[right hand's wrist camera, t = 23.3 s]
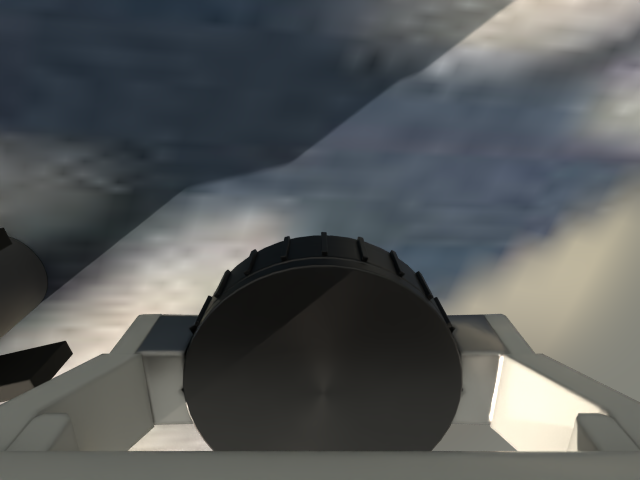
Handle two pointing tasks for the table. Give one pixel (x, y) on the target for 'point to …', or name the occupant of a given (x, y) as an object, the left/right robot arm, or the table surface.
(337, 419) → the lid
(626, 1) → the table surface
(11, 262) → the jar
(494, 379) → the right robot arm
